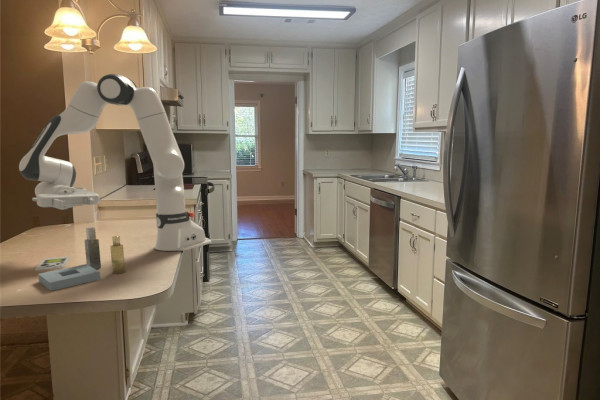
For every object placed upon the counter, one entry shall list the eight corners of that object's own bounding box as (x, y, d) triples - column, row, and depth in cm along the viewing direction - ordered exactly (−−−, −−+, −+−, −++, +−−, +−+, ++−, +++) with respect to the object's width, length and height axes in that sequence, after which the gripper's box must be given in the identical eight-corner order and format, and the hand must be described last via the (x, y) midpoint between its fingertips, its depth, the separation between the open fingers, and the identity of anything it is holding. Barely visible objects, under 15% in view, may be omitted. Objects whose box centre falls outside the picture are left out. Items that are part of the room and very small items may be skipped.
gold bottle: (122, 269, 142) (119, 234, 141) (127, 271, 140) (124, 236, 138) (110, 272, 140) (107, 236, 138) (115, 274, 137) (112, 238, 135)
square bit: (97, 266, 147) (93, 226, 145) (101, 268, 144) (97, 227, 142) (87, 268, 144) (83, 228, 142) (90, 270, 142) (87, 229, 140)
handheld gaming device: (33, 270, 142) (43, 258, 156) (33, 272, 142) (43, 260, 156) (63, 266, 145) (70, 255, 159) (63, 269, 145) (70, 257, 159)
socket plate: (86, 271, 141) (86, 264, 141) (100, 279, 133) (99, 271, 132) (39, 281, 131) (38, 273, 131) (50, 290, 123) (49, 282, 122)
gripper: (30, 189, 148) (46, 195, 140) (89, 188, 164) (106, 193, 156) (30, 207, 149) (45, 214, 141) (88, 204, 165) (106, 210, 157)
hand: (78, 203), depth 149 cm, fingers open, 8 cm apart
